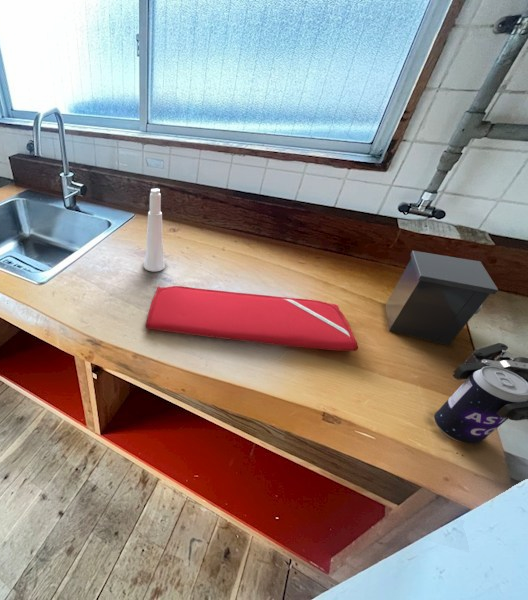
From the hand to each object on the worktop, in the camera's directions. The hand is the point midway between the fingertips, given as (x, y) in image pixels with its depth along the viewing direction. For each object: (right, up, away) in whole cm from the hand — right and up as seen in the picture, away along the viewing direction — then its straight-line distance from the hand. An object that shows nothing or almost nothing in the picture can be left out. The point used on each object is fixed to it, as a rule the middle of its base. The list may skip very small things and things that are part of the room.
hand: (479, 391), depth 44 cm
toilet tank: (+14, +7, +26) cm, 30 cm away
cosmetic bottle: (-40, +22, +49) cm, 67 cm away
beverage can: (+3, -8, +6) cm, 10 cm away
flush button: (+19, +10, +20) cm, 29 cm away
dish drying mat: (-22, +8, +29) cm, 37 cm away
